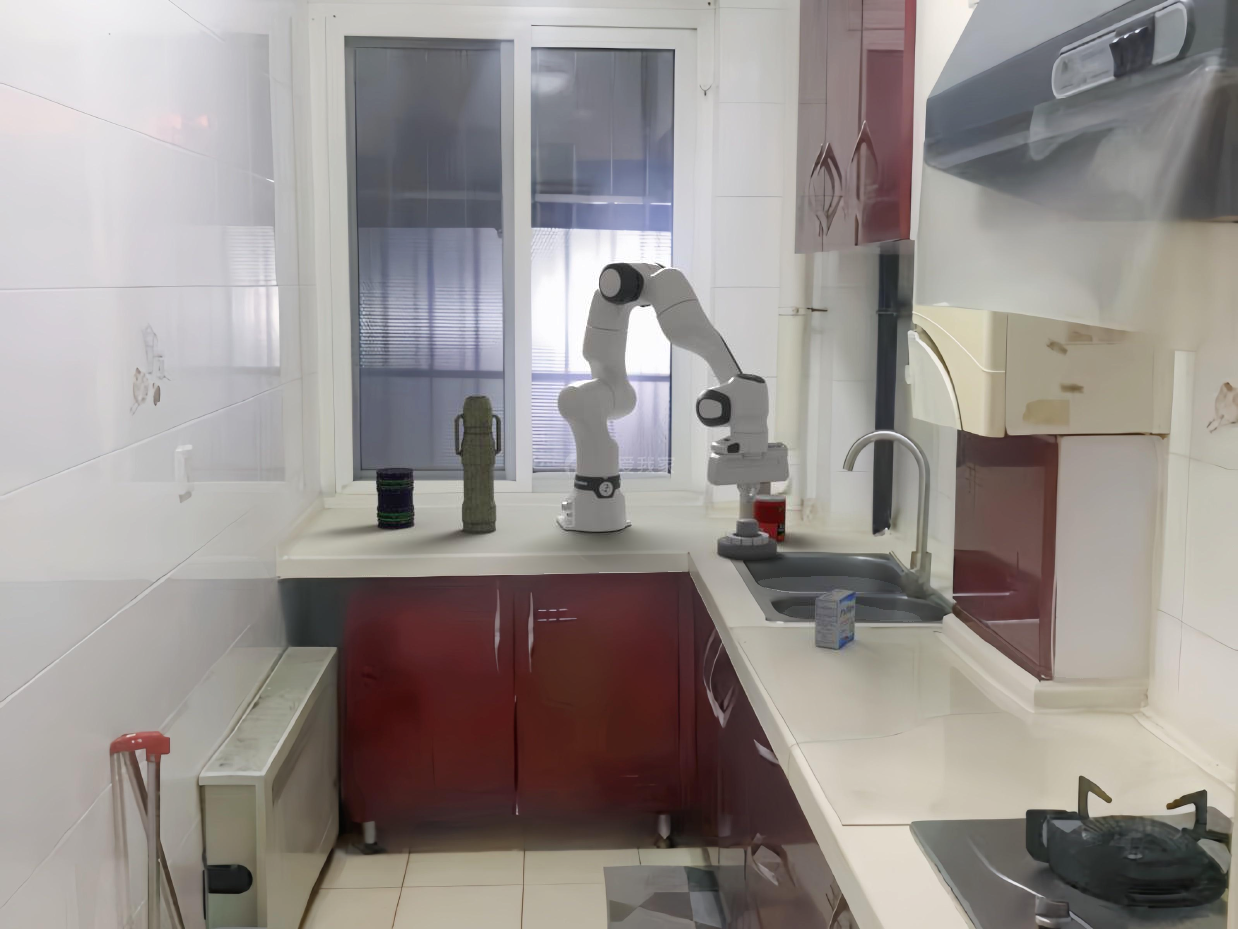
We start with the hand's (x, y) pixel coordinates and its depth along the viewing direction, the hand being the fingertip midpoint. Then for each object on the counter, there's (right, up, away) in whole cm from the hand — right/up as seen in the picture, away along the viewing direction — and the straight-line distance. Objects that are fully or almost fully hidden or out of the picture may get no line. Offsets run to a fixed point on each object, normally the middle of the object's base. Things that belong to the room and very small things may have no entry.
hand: (748, 502), depth 265 cm
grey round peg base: (0, -12, +2) cm, 12 cm away
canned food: (+7, -10, +18) cm, 22 cm away
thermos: (-67, -9, +29) cm, 73 cm away
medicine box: (+7, -22, -69) cm, 73 cm away
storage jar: (-90, -8, +34) cm, 96 cm away
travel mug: (+5, -9, +29) cm, 30 cm away
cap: (0, -9, +1) cm, 9 cm away
